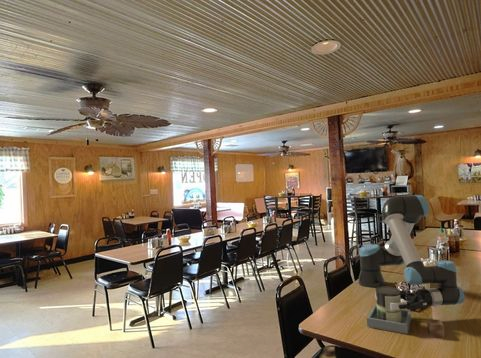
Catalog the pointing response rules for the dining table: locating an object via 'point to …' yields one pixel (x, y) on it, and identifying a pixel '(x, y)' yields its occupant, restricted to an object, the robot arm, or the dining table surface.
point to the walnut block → (435, 328)
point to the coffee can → (388, 303)
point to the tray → (389, 322)
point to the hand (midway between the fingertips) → (382, 301)
